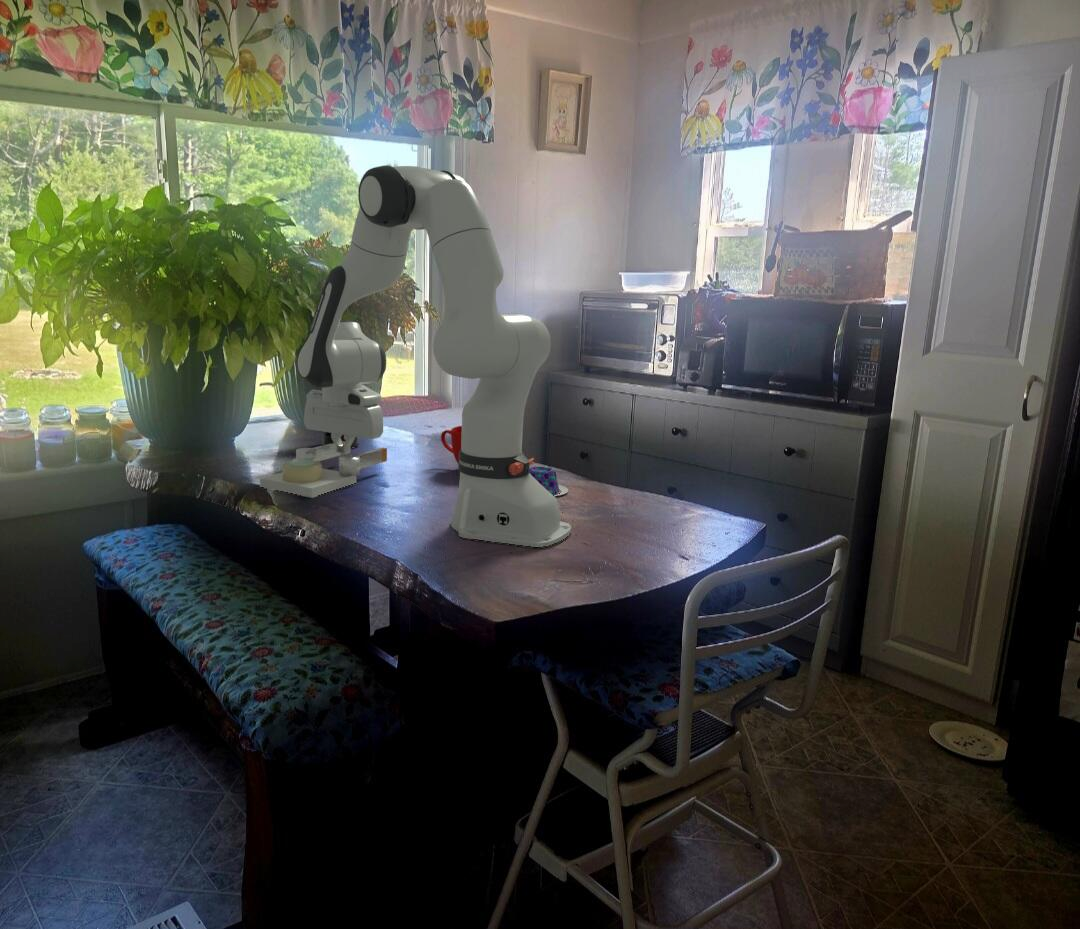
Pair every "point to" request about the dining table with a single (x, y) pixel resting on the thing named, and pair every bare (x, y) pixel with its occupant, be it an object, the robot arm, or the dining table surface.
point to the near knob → (361, 461)
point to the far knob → (318, 452)
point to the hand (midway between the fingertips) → (343, 452)
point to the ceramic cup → (453, 440)
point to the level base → (309, 487)
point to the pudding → (548, 479)
